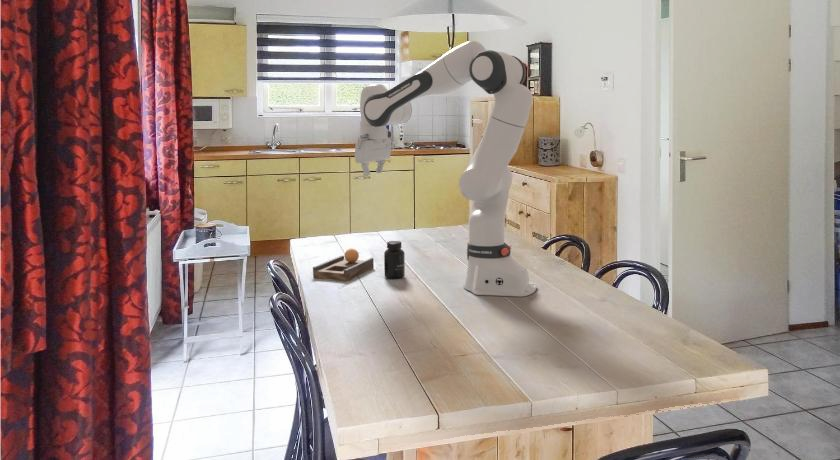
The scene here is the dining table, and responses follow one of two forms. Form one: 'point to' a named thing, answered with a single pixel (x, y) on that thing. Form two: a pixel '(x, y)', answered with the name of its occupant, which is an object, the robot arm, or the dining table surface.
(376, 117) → the robot arm
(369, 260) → the lane
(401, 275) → the supplement bottle
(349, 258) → the ball
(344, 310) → the dining table surface
